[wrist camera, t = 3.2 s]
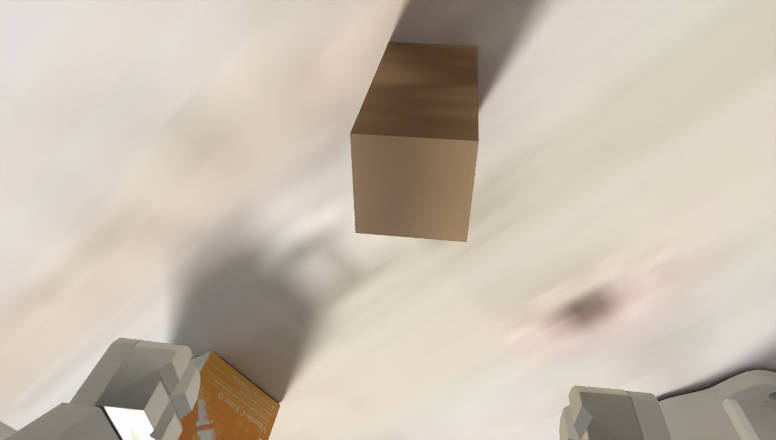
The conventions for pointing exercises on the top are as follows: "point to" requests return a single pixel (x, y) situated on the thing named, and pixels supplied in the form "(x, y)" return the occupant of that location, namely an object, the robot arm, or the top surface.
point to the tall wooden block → (417, 143)
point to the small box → (227, 405)
